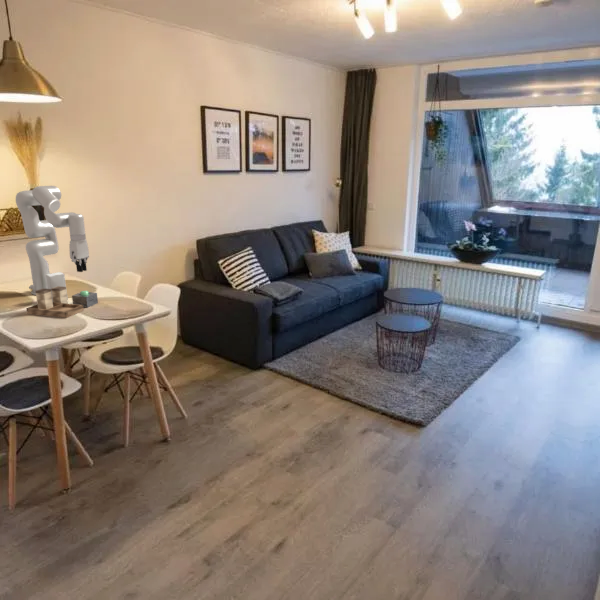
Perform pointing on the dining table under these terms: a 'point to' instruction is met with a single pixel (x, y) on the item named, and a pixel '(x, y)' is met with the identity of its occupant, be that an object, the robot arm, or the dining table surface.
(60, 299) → the block
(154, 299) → the dining table surface
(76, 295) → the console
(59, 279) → the skincare box
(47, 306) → the block
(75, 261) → the robot arm
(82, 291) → the button
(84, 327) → the dining table surface
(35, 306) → the tray
